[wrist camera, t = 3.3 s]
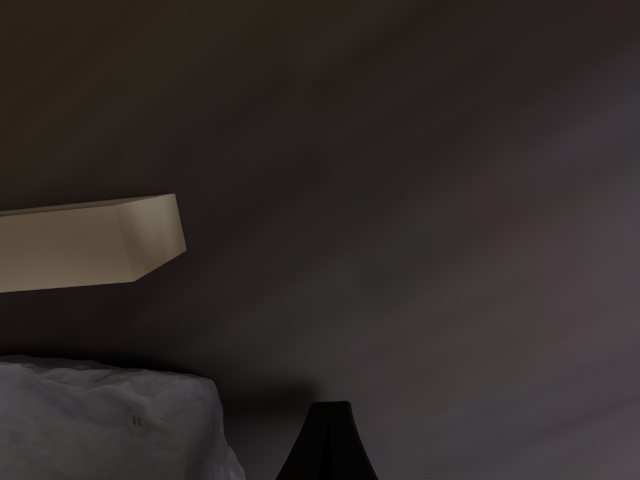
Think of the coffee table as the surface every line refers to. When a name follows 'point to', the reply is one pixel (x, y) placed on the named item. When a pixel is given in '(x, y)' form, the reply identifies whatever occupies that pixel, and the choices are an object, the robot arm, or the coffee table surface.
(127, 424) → the stone block
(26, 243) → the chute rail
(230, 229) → the coffee table surface
